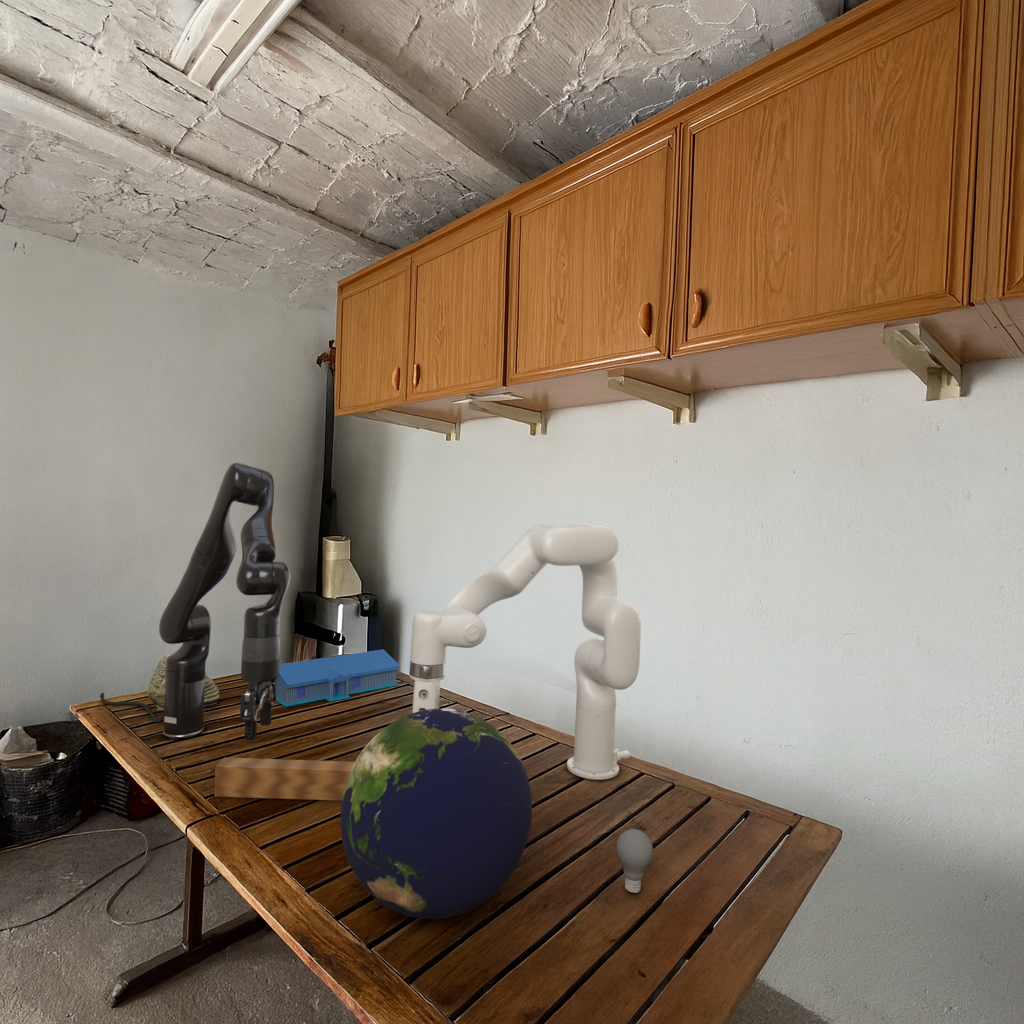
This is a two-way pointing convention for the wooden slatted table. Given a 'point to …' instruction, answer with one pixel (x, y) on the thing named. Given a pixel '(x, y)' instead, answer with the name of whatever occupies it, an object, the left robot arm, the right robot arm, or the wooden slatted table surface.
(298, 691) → the model building
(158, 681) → the fossil
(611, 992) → the wooden slatted table surface
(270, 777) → the beam
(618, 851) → the light bulb
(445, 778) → the globe
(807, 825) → the wooden slatted table surface
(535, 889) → the wooden slatted table surface
